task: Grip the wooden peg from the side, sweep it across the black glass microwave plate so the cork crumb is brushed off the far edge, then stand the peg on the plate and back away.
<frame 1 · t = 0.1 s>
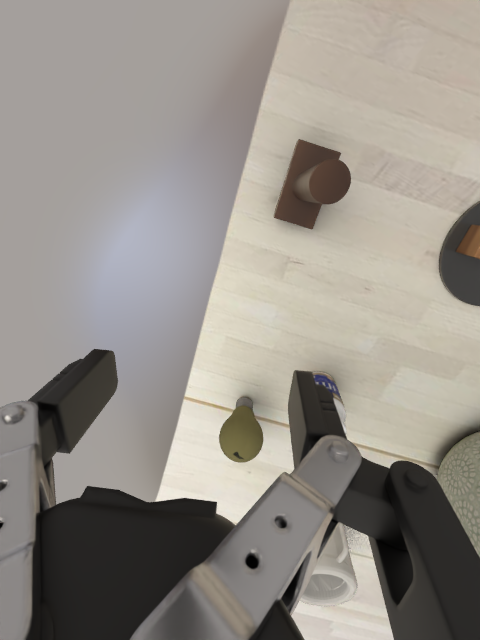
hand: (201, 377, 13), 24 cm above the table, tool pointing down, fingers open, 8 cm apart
mug: (315, 516, 53), on the table
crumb: (475, 242, 31), resting on plate
light bulb: (244, 399, 43), on the table
pill bottle: (315, 384, 41), on the table
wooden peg: (302, 187, 31), on the table
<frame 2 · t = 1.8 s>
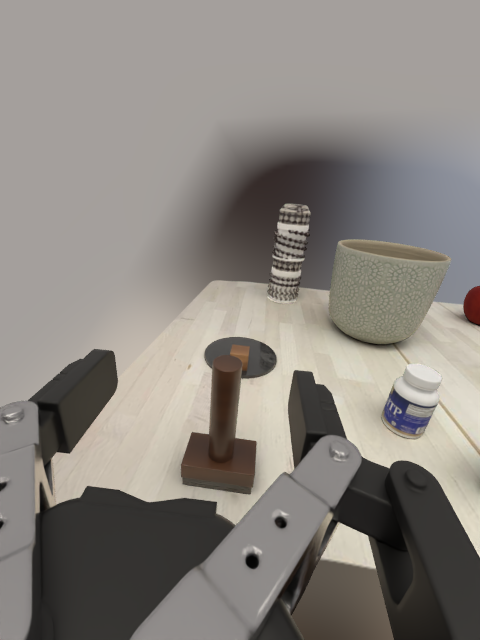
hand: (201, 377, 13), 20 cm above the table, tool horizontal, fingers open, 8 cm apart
decorative candle: (282, 299, 82), on the table
planter: (366, 332, 66), on the table
apple: (477, 323, 77), on the table
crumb: (238, 364, 49), resting on plate
pill bottle: (400, 425, 40), on the table
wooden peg: (219, 471, 31), on the table
plate: (240, 356, 52), on the table
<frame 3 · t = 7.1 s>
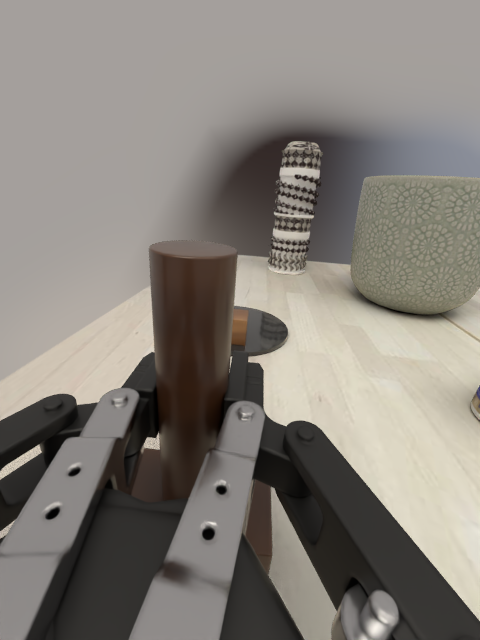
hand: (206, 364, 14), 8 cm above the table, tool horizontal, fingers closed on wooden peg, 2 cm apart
decorative candle: (286, 270, 66), on the table
planter: (400, 303, 50), on the table
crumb: (232, 338, 32), resting on plate
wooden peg: (191, 532, 14), on the table, touching gripper
plate: (235, 328, 36), on the table
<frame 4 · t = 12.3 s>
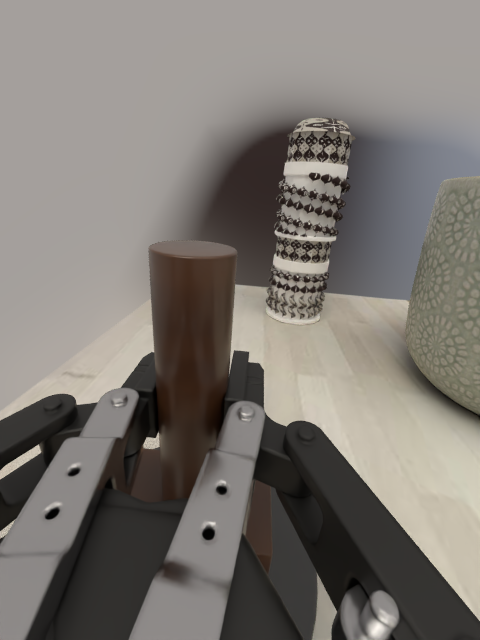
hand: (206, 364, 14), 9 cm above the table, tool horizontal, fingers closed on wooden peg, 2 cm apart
decorative candle: (292, 314, 45), on the table
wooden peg: (192, 532, 14), point 1 cm above the table, touching gripper
plate: (185, 550, 15), on the table
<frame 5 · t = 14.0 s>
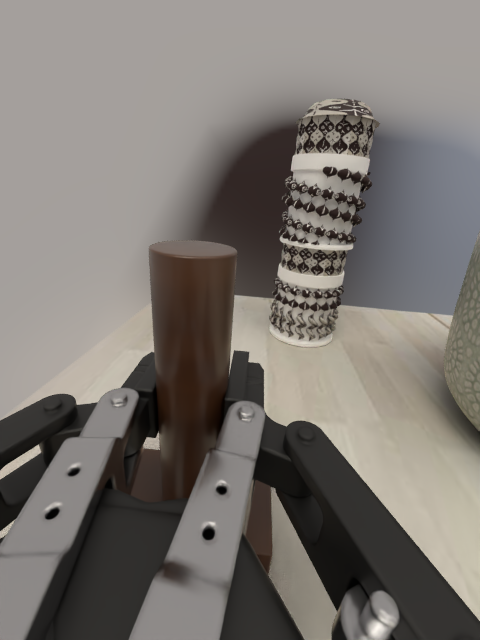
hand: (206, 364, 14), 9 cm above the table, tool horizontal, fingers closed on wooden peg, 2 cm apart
decorative candle: (300, 333, 39), on the table
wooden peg: (191, 532, 14), point 1 cm above the table, touching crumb, gripper
when the fingers open (9 cm above the table, at t = 16.2 s): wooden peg stays where it is, resting on plate.
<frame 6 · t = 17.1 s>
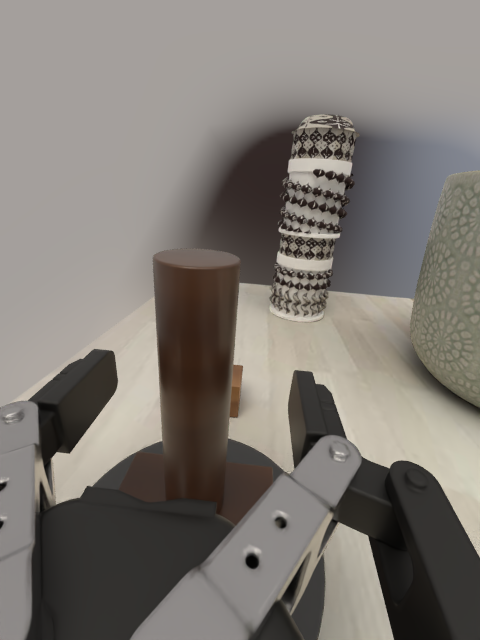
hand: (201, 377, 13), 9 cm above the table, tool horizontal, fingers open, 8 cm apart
decorative candle: (296, 312, 45), on the table
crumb: (221, 403, 24), on the table
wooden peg: (194, 536, 14), point 1 cm above the table, touching plate
plate: (192, 541, 15), on the table
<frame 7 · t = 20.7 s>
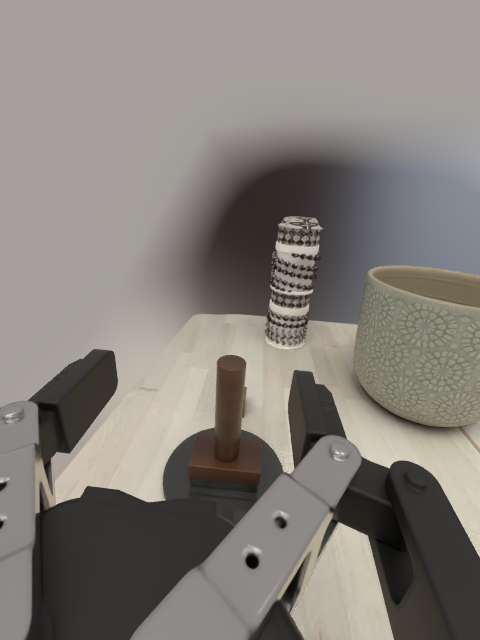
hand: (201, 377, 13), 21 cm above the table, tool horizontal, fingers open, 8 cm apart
decorative candle: (284, 341, 62), on the table
planter: (409, 399, 46), on the table
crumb: (234, 409, 41), on the table
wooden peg: (225, 471, 31), point 1 cm above the table, touching plate
plate: (224, 474, 31), on the table
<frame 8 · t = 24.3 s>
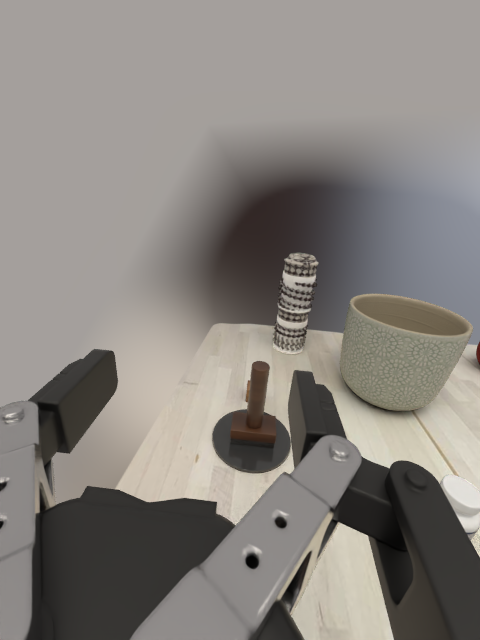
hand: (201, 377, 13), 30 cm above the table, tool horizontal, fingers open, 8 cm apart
decorative candle: (287, 347, 78), on the table
planter: (379, 392, 63), on the table
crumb: (253, 397, 58), on the table
pill bottle: (434, 538, 36), on the table
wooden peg: (252, 436, 48), point 1 cm above the table, touching plate
plate: (251, 438, 48), on the table
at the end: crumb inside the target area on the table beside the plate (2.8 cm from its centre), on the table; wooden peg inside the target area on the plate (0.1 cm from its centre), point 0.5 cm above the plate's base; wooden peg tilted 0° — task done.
